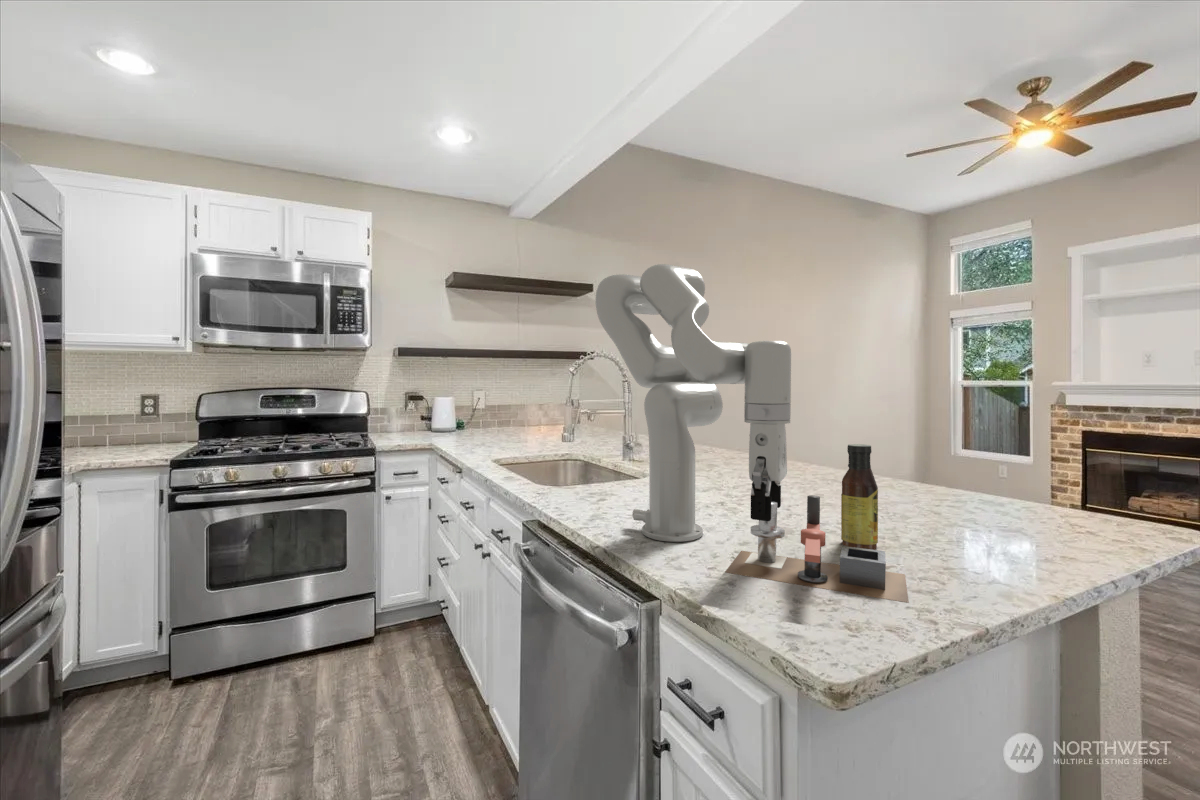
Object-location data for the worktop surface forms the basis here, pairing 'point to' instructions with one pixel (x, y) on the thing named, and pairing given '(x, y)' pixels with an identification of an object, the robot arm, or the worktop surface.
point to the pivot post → (812, 573)
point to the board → (789, 569)
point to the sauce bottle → (859, 501)
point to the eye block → (862, 567)
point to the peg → (768, 536)
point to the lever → (813, 531)
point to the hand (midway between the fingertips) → (766, 513)
